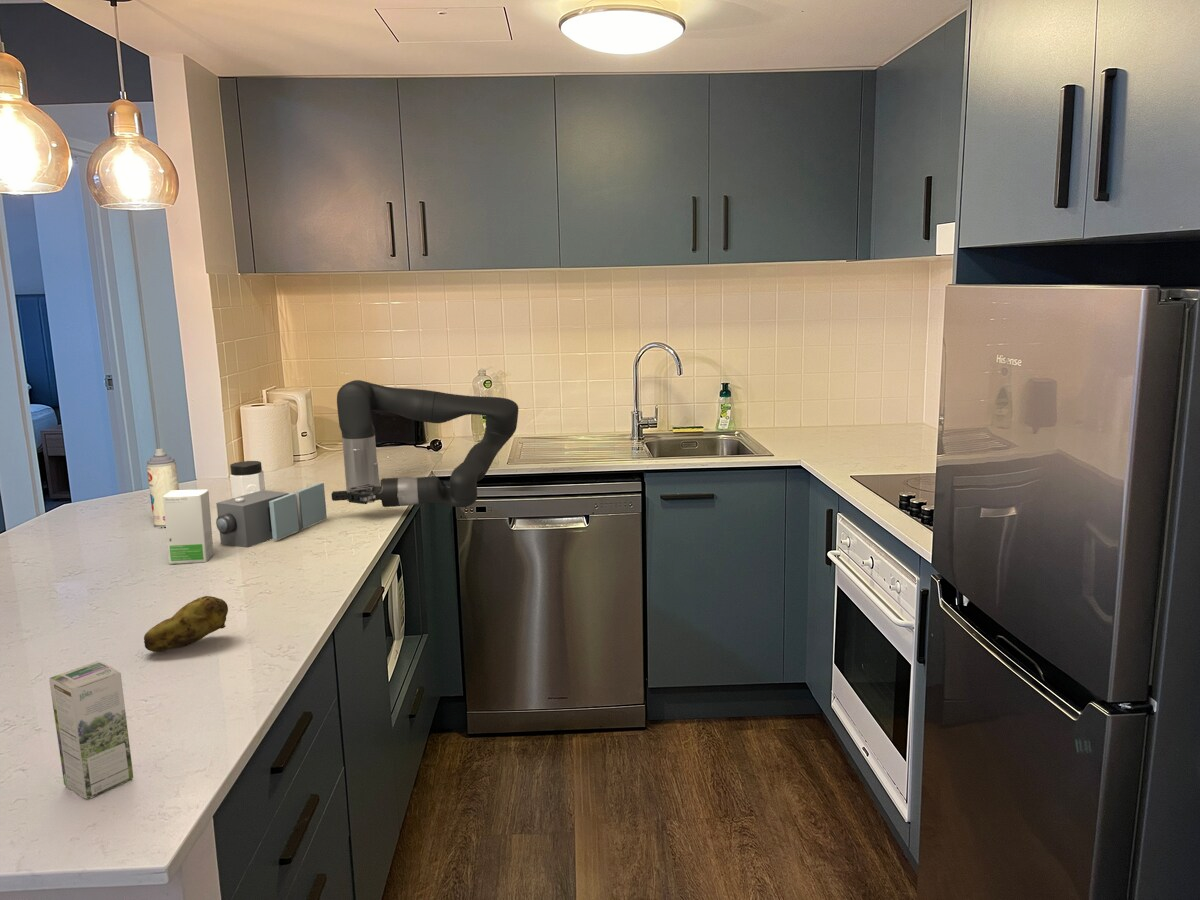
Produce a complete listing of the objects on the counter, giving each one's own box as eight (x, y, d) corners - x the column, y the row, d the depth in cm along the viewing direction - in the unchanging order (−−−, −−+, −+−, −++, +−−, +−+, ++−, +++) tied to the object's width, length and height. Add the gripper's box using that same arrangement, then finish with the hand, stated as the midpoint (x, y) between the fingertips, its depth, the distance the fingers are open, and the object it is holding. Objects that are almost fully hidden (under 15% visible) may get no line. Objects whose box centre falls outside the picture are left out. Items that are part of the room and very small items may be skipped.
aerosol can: (155, 522, 231) (146, 448, 227) (184, 520, 233) (175, 446, 229) (152, 529, 224) (142, 452, 221) (181, 526, 226) (172, 450, 223)
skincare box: (168, 565, 194) (159, 496, 191) (177, 556, 200) (169, 490, 197) (208, 562, 195) (200, 494, 192) (216, 553, 202) (208, 487, 199)
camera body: (266, 528, 222) (262, 487, 220) (293, 532, 218) (289, 489, 216) (212, 546, 208) (207, 502, 206) (239, 550, 203) (234, 505, 201)
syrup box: (111, 765, 111) (96, 658, 108) (135, 779, 108) (120, 669, 105) (63, 787, 107) (46, 675, 104) (87, 802, 103) (70, 687, 101)
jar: (236, 510, 241) (231, 468, 239) (230, 504, 248) (225, 463, 246) (270, 505, 246) (265, 463, 244) (263, 500, 253) (259, 459, 251)
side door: (322, 519, 229) (319, 482, 227) (327, 519, 228) (324, 482, 227) (272, 541, 210) (268, 501, 208) (277, 541, 209) (273, 501, 207)
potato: (153, 641, 151) (148, 597, 150) (233, 631, 154) (229, 588, 153) (142, 660, 143) (136, 614, 142) (226, 650, 147) (221, 604, 145)
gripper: (400, 472, 235) (333, 476, 233) (398, 483, 223) (327, 487, 220) (402, 499, 237) (336, 504, 234) (400, 511, 224) (329, 516, 221)
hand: (332, 496), depth 227 cm, fingers closed
